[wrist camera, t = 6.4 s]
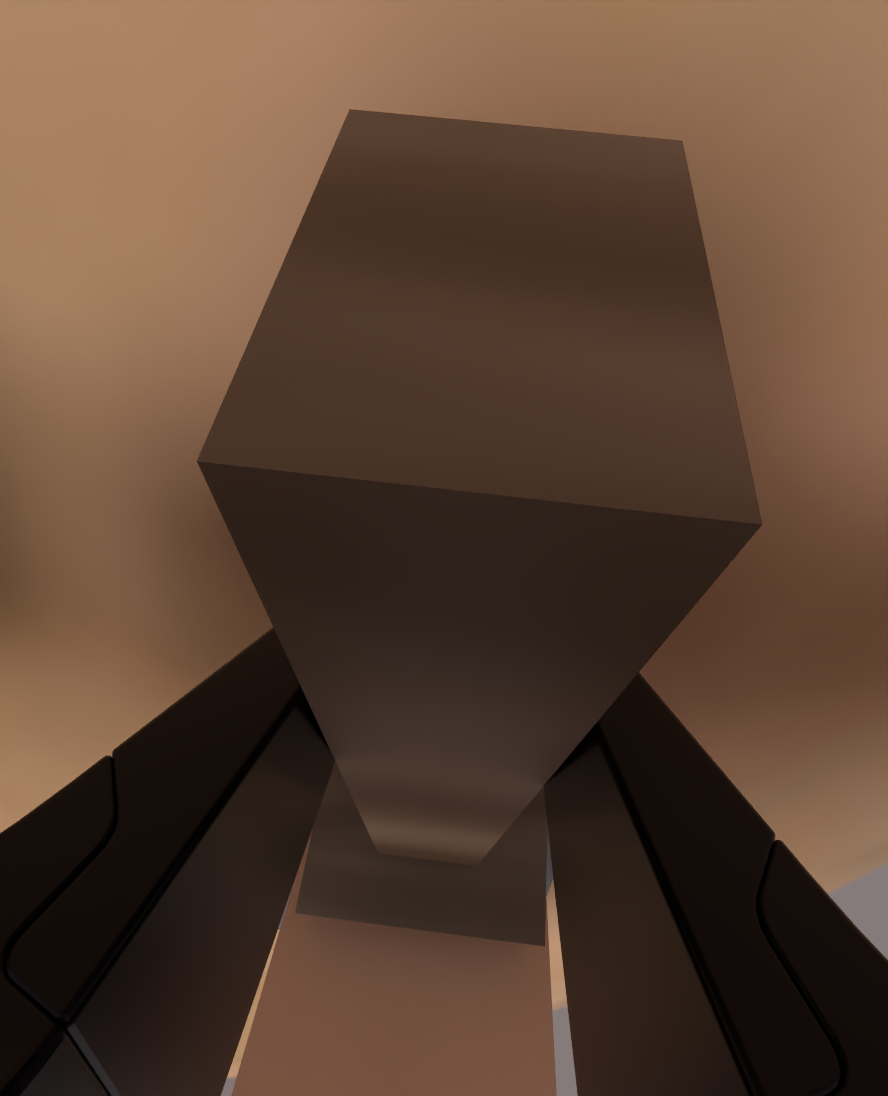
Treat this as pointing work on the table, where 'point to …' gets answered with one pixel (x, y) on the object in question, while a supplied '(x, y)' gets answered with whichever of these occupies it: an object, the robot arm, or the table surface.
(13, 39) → the table surface
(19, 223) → the table surface
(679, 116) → the table surface
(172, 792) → the robot arm
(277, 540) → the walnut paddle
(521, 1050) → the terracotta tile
